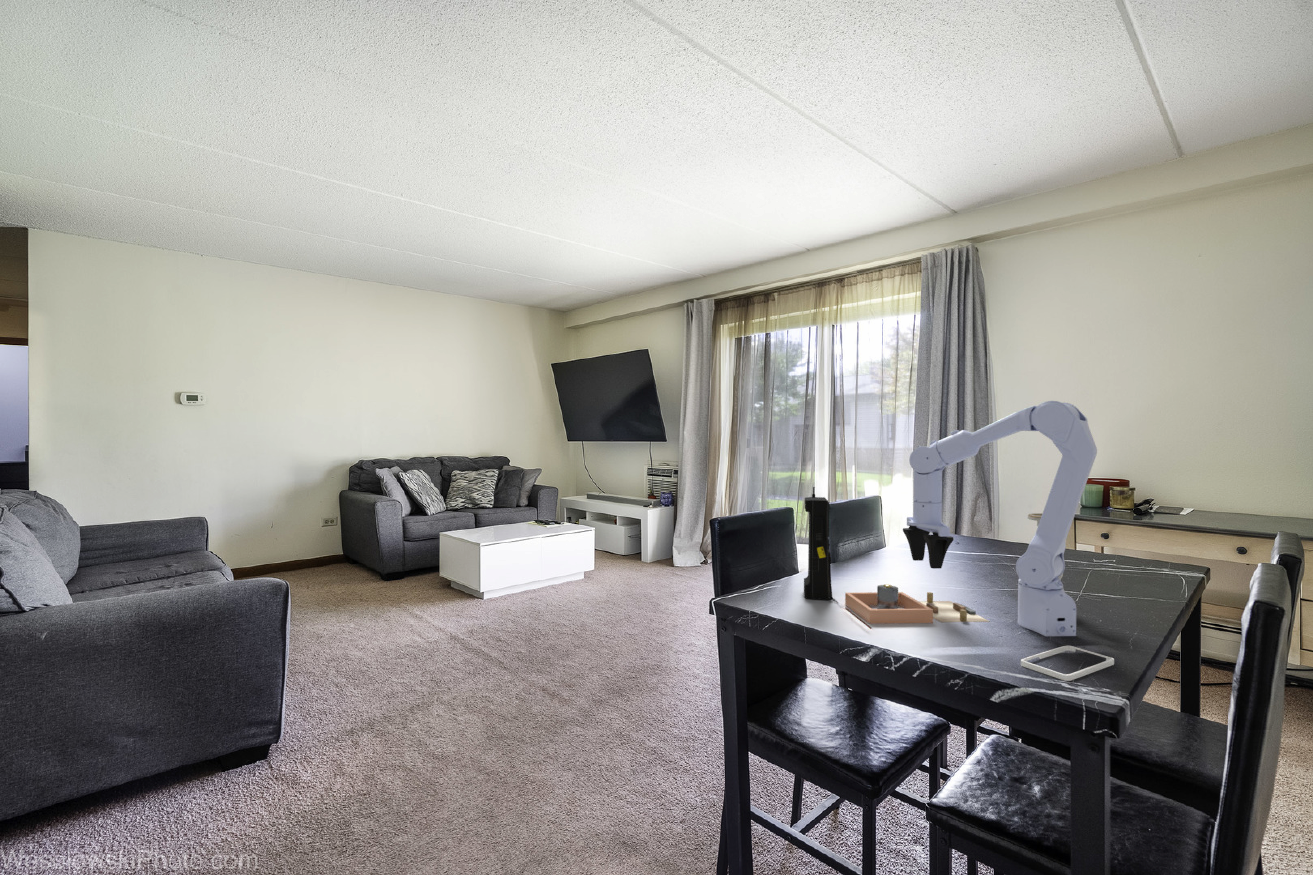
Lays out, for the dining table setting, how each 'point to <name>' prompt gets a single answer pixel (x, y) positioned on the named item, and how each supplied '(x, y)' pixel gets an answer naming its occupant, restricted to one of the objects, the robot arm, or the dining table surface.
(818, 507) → the portable radio
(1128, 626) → the dining table surface
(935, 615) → the checker cradle
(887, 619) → the low rectangular frame
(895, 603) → the battery cell
